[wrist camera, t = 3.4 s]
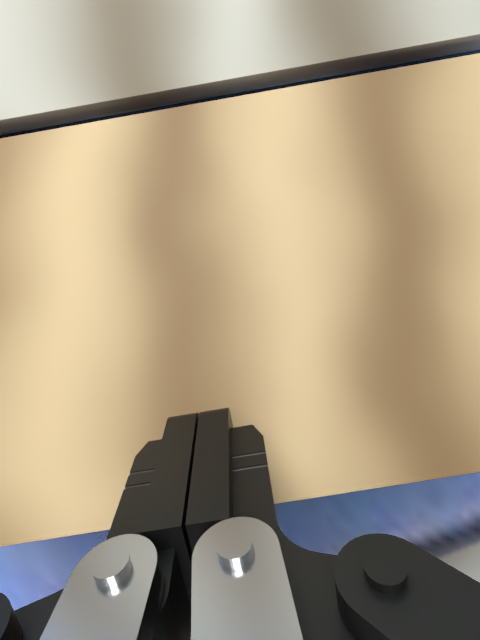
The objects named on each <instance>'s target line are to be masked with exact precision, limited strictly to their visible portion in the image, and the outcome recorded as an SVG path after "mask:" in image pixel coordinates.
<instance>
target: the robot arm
mask: <svg viewBox="0 0 480 640" xmlns="http://www.w3.org/2000/svg"><path fill="white" fill-rule="evenodd" d="M190 637H191V640H480V583H479V582H477V581H476V580H474V579H472V578H470V577H469V576H467V575H465V574H464V573H462V572H460V571H458V570H457V569H455V568H453V567H452V566H450V565H448V564H446V563H445V562H443V561H441V560H440V559H438V558H436V557H434V556H433V555H431V554H429V553H428V552H426V551H424V550H422V549H421V548H419V547H417V546H415V545H414V544H412V543H410V542H408V541H406V540H404V539H402V538H399V537H396V536H392V535H388V534H368V535H363V536H360V537H357V538H355V539H353V540H351V541H350V542H348V543H347V544H346V545H345V546H344V547H343V548H342V549H341V551H340V552H339V554H338V556H337V555H331V554H324V553H317V552H313V551H309V550H306V549H303V548H301V547H299V546H297V545H295V544H294V543H292V542H291V541H290V540H289V539H288V538H286V537H285V536H284V534H283V533H282V532H281V530H280V528H279V526H278V524H277V518H276V511H275V505H274V499H273V492H272V486H271V480H270V474H269V468H268V462H267V456H266V450H265V444H264V437H263V435H262V434H261V433H260V432H259V431H258V430H257V429H256V428H255V427H254V425H247V426H240V427H234V428H233V423H232V418H231V413H230V409H229V408H223V409H216V410H210V411H204V412H200V413H199V414H198V413H192V414H186V415H179V416H173V417H168V419H167V422H166V426H165V429H164V433H163V437H162V439H159V440H153V441H148V442H147V444H146V445H145V446H144V447H143V448H142V449H141V450H140V451H139V453H138V454H137V455H136V456H135V458H134V461H133V464H132V467H131V470H130V475H129V476H128V479H127V482H126V484H125V489H124V490H123V493H122V496H121V499H120V502H119V505H118V507H117V510H116V513H115V516H114V519H113V522H112V525H111V528H110V530H109V533H108V536H107V539H106V541H104V542H102V543H100V544H98V545H97V546H96V547H94V548H93V549H91V550H90V551H89V552H88V553H87V554H86V555H85V556H84V557H83V558H82V559H81V560H80V561H79V563H78V564H77V565H76V567H75V568H74V570H73V572H72V573H71V575H70V577H69V580H68V582H67V584H66V586H65V588H64V589H62V590H60V591H58V592H56V593H54V594H52V595H49V596H47V597H45V598H43V599H40V600H38V601H36V602H33V603H31V604H29V605H27V606H24V607H22V608H20V609H18V610H15V611H14V610H13V608H12V606H11V603H10V601H9V600H8V598H7V597H6V596H5V595H4V594H2V593H0V640H190Z"/></svg>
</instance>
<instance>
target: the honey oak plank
mask: <svg viewBox="0 0 480 640" xmlns="http://www.w3.org/2000/svg"><path fill="white" fill-rule="evenodd" d="M223 408H229V409H230V413H231V418H232V423H233V428H234V427H240V426H247V425H254V427H255V428H256V429H257V430H258V431H259V432H260V433H261V434H262V435H263V437H264V444H265V450H266V456H267V462H268V468H269V474H270V480H271V486H272V492H273V499H274V504H277V503H284V502H290V501H297V500H303V499H309V498H316V497H322V496H329V495H335V494H342V493H348V492H355V491H361V490H367V489H374V488H380V487H387V486H393V485H400V484H406V483H413V482H419V481H425V480H432V479H438V478H445V477H451V476H458V475H464V474H470V473H477V472H480V53H477V54H472V55H466V56H460V57H455V58H449V59H444V60H438V61H432V62H427V63H421V64H415V65H410V66H404V67H399V68H393V69H387V70H382V71H376V72H371V73H365V74H359V75H354V76H348V77H343V78H337V79H331V80H326V81H320V82H314V83H309V84H303V85H298V86H292V87H286V88H281V89H275V90H270V91H264V92H258V93H253V94H247V95H241V96H236V97H230V98H225V99H219V100H213V101H208V102H202V103H197V104H191V105H185V106H180V107H174V108H169V109H163V110H157V111H152V112H146V113H140V114H135V115H129V116H124V117H118V118H112V119H107V120H101V121H96V122H90V123H84V124H79V125H73V126H67V127H62V128H56V129H51V130H45V131H39V132H34V133H28V134H23V135H17V136H11V137H6V138H0V546H7V545H13V544H20V543H26V542H32V541H39V540H45V539H52V538H58V537H65V536H71V535H78V534H84V533H90V532H97V531H103V530H110V528H111V525H112V522H113V519H114V516H115V513H116V510H117V507H118V505H119V502H120V499H121V496H122V493H123V490H124V489H125V484H126V482H127V479H128V476H129V475H130V470H131V467H132V464H133V461H134V458H135V456H136V455H137V454H138V453H139V451H140V450H141V449H142V448H143V447H144V446H145V445H146V444H147V442H148V441H153V440H159V439H162V437H163V433H164V429H165V426H166V422H167V419H168V417H173V416H179V415H186V414H192V413H198V414H199V413H200V412H204V411H210V410H216V409H223Z"/></svg>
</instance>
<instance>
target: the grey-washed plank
mask: <svg viewBox="0 0 480 640" xmlns="http://www.w3.org/2000/svg"><path fill="white" fill-rule="evenodd" d="M475 50H480V0H0V135H4V134H9V133H15V132H20V131H26V130H32V129H37V128H43V127H48V126H54V125H60V124H65V123H71V122H76V121H82V120H88V119H93V118H99V117H105V116H110V115H116V114H121V113H127V112H133V111H138V110H144V109H149V108H155V107H161V106H166V105H172V104H177V103H183V102H189V101H194V100H200V99H205V98H211V97H217V96H222V95H228V94H233V93H239V92H245V91H250V90H256V89H262V88H267V87H273V86H278V85H284V84H290V83H295V82H301V81H306V80H312V79H318V78H323V77H329V76H334V75H340V74H346V73H351V72H357V71H362V70H368V69H374V68H379V67H385V66H390V65H396V64H402V63H407V62H413V61H419V60H424V59H430V58H435V57H441V56H447V55H452V54H458V53H463V52H469V51H475Z"/></svg>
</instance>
